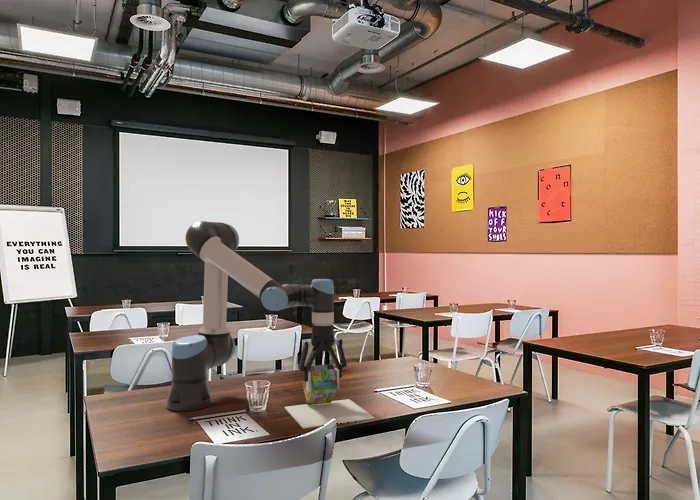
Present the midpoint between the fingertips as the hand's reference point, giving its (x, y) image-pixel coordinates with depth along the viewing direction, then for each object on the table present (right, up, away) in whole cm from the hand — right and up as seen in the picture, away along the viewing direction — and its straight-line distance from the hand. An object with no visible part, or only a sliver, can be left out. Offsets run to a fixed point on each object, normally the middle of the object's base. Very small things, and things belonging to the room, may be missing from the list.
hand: (322, 389), depth 173 cm
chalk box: (-2, -3, +6) cm, 7 cm away
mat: (+2, -7, -5) cm, 9 cm away
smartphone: (+2, -7, +48) cm, 48 cm away
